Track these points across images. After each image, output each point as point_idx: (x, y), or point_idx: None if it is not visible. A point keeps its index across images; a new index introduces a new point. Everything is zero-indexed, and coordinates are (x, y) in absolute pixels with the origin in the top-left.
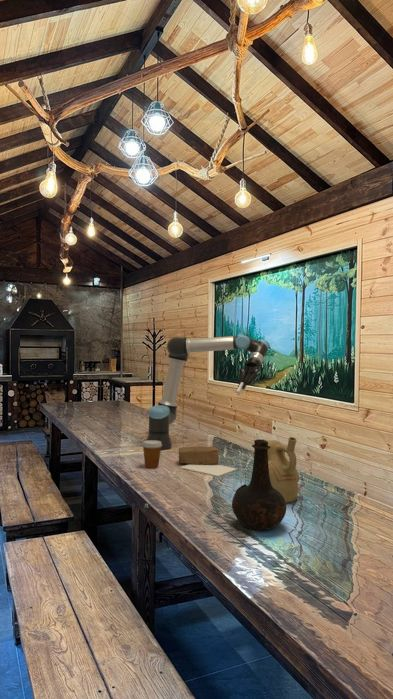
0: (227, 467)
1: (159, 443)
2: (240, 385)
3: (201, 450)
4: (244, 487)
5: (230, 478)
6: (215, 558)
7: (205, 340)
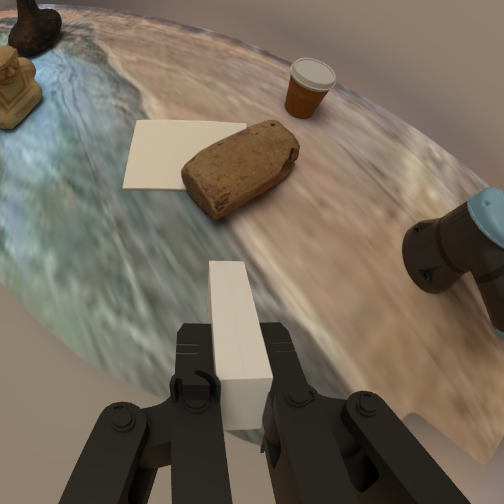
0: (149, 181)
1: (294, 68)
2: (239, 323)
3: (224, 138)
4: (45, 11)
5: (111, 130)
6: (66, 6)
7: None
